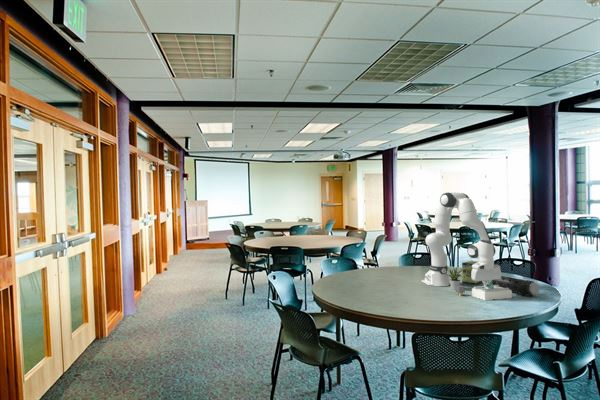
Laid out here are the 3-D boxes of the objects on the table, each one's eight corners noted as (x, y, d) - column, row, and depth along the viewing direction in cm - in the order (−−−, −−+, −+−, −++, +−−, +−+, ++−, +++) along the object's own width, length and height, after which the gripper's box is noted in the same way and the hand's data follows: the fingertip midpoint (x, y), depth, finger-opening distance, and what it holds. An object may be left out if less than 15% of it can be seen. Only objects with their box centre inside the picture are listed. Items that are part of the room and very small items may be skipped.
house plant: (469, 292, 264) (468, 268, 264) (447, 291, 267) (447, 267, 267) (464, 287, 278) (464, 264, 278) (444, 286, 281) (443, 264, 281)
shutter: (484, 287, 253) (484, 283, 253) (494, 287, 255) (494, 282, 255) (492, 290, 246) (492, 285, 246) (502, 289, 248) (502, 284, 248)
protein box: (461, 283, 292) (461, 262, 292) (471, 280, 302) (470, 260, 302) (475, 285, 284) (475, 264, 284) (484, 282, 294) (484, 261, 294)
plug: (455, 294, 257) (455, 285, 257) (460, 294, 258) (460, 285, 258) (459, 296, 253) (459, 286, 253) (464, 295, 254) (464, 286, 254)
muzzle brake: (501, 288, 274) (500, 273, 274) (540, 297, 249) (539, 280, 249) (491, 289, 270) (491, 275, 270) (530, 298, 244) (530, 282, 244)
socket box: (472, 295, 253) (471, 286, 253) (497, 293, 258) (497, 284, 258) (485, 300, 242) (484, 290, 242) (511, 298, 247) (511, 288, 247)
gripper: (496, 263, 255) (496, 284, 255) (469, 265, 250) (469, 286, 250) (503, 265, 248) (503, 286, 248) (476, 267, 244) (476, 288, 244)
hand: (486, 286), depth 249 cm, fingers closed
